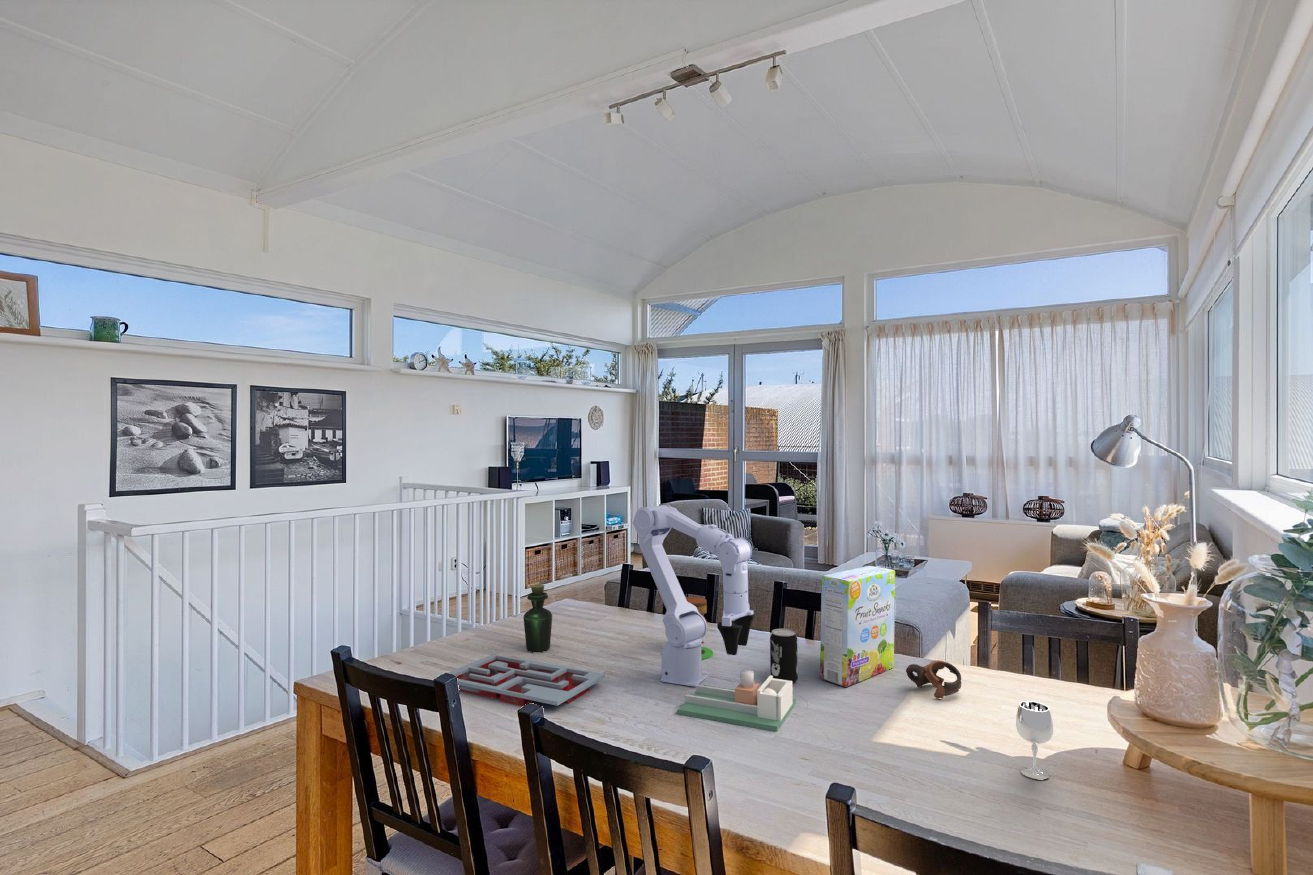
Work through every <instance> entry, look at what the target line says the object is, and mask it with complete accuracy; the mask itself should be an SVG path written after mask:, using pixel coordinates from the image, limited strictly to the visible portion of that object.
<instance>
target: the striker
mask: <svg viewBox="0 0 1313 875" xmlns="http://www.w3.org/2000/svg"><path fill="white" fill-rule="evenodd" d="M754 677H755V673H754V671H753V670H748V669H747V670H746V669H745V670H741V671H740V683H739V684H738V685H737V686H736V687H735V688H734V690H735V702H737V703H743V704H749V705H755V706H757V690H758V689H759V688H760V687H761V684H760V683H757V682H755V680H754V679H755V678H754Z"/></svg>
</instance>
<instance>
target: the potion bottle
mask: <svg viewBox="0 0 1313 875" xmlns="http://www.w3.org/2000/svg"><path fill="white" fill-rule="evenodd" d="M530 588H531V593H528V594H527V598H526V599H527V600H529V601H530V602H531V607H532V608H530V609H528V610H527V611H525V613H524V615H523V626H524V629H523V630H524V636H525V647H526V648H525V649H526V650H527V652H529V651H530V652H529V653H533V652H540V653H543V652H542V651H545V652H547V651H549V650H550V648H551V638H552V626H553V625H552V624H553V614H552V612H551V610H549V609H547V608H545V607H544V604H545V600H547V599H548V598H549V596H548V593H547V592H544V589H545V585H544V584H532V585H531V586H530Z"/></svg>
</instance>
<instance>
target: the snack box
mask: <svg viewBox="0 0 1313 875" xmlns="http://www.w3.org/2000/svg"><path fill="white" fill-rule="evenodd" d="M820 599H821V605H820V650H819V651H820V652H819V653H820V654H819V655H820V661H819V662H820V663H819V679H822V680H825V681H827V682H830V683H833V684H836V685H837V686H838V685H839V686H841V687H844V688H848V687H850V686H853V685H855V684H857V683H860V682H862V681H865V680H867V679H869V678H872V677H874V676H877V675H880V674H881V672H882V673H885V672H887V671H890V670H892V669H894V668H895V610H896V609H895V608H896V606H895V603H896V601H895V600H896V570H894V569H892V568H886V567H878V566H874V565H865V566H862V567H861V566H860V567H856V568H851V569H847V570H843V571H837V572H833V573H829V574H825V575H821V596H820ZM891 668H892V669H891ZM889 669H890V670H889ZM886 670H887V671H886ZM884 671H885V672H884ZM879 673H880V674H879Z"/></svg>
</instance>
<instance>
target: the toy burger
mask: <svg viewBox="0 0 1313 875" xmlns="http://www.w3.org/2000/svg"><path fill="white" fill-rule="evenodd" d="M685 598H686V600H687V602H689V603H691V604H692V605H694V606H696V608H697V610H698V612H699V613H700V614H701V615H702V616H703V617H704V619H705V620H706V623H707V624H708V623H709V622H708V621H707V619H706V617H705V616H704V615H705V614H707V610H708V609H707V608H708V606H707V604H708V603H707V599H706V598H704V597H699V596H688V597H686V596H685ZM702 644H703V645H704V644H705V642H704V640H703V642H701V645H702ZM713 655H714V652H713V649H712V648H708V647H705V646H701V661H702V660H706V659H710V658H711V657H713Z"/></svg>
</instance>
